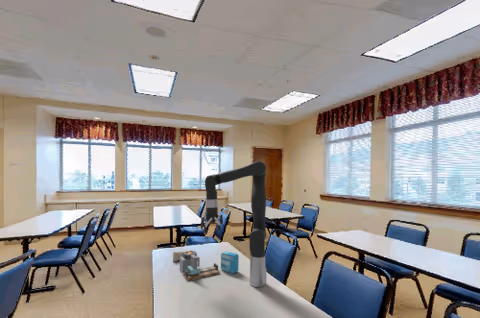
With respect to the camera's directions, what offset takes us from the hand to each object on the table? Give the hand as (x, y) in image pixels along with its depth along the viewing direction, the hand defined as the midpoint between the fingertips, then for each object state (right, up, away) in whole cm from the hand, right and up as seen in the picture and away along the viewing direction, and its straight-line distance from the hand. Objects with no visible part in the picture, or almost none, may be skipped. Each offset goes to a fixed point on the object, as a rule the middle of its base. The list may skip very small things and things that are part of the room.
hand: (212, 232), depth 148 cm
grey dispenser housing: (-18, -31, +15) cm, 38 cm away
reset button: (-18, -22, +16) cm, 32 cm away
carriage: (-12, -27, +4) cm, 30 cm away
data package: (+10, -31, +13) cm, 35 cm away
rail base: (-8, -30, +6) cm, 32 cm away
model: (-28, -32, +29) cm, 52 cm away
